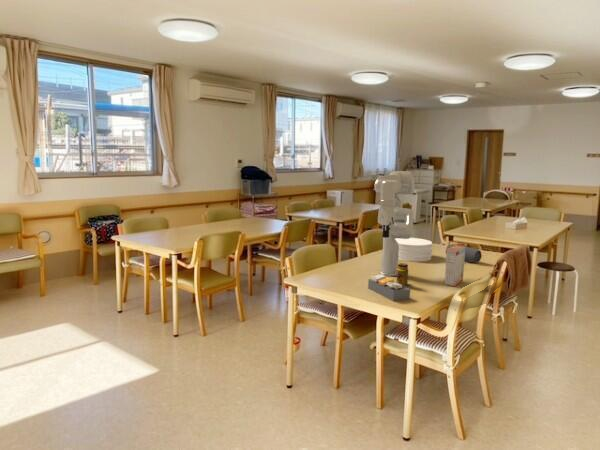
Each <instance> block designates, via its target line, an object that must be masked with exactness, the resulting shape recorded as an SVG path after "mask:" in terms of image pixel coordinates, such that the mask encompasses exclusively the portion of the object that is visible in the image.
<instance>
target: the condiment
mask: <svg viewBox="0 0 600 450" xmlns="http://www.w3.org/2000/svg"><path fill="white" fill-rule="evenodd" d="M408 267H409V266H408V264H407V263H403V262H402V263H401V262H400V263H398V269H397V276H396V283H398V284H401V285H402V286H404V287H406V288H408V287H410V286H412V283H408V281H409V280H408V279H409V268H408Z"/></svg>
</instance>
